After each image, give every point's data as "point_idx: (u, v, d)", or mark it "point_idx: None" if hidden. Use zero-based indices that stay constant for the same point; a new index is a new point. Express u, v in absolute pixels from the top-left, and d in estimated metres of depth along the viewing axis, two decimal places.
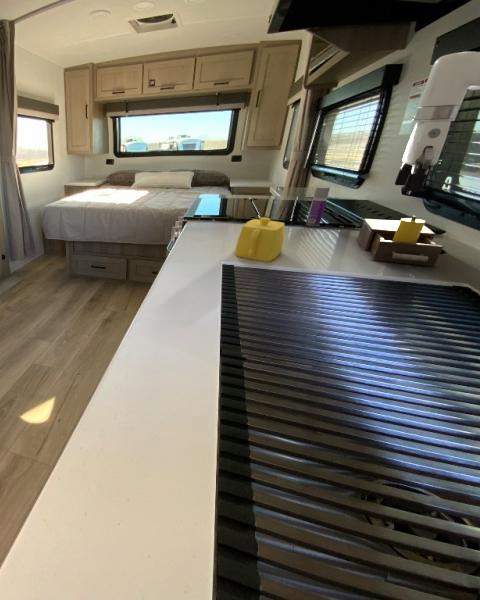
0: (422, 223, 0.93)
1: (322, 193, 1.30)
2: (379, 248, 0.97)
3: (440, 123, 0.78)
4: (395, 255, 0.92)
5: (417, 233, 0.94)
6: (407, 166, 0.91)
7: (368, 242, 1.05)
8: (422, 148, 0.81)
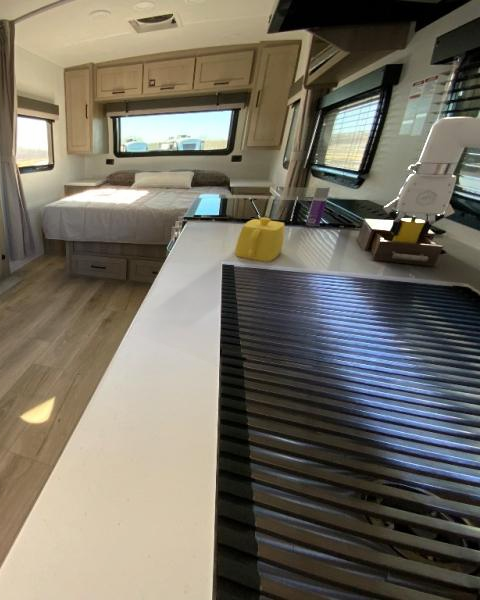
0: (422, 223, 0.93)
1: (322, 193, 1.30)
2: (379, 248, 0.97)
3: (409, 176, 0.91)
4: (395, 255, 0.92)
5: (417, 233, 0.94)
6: (428, 219, 0.93)
7: (368, 242, 1.05)
8: (398, 195, 0.95)
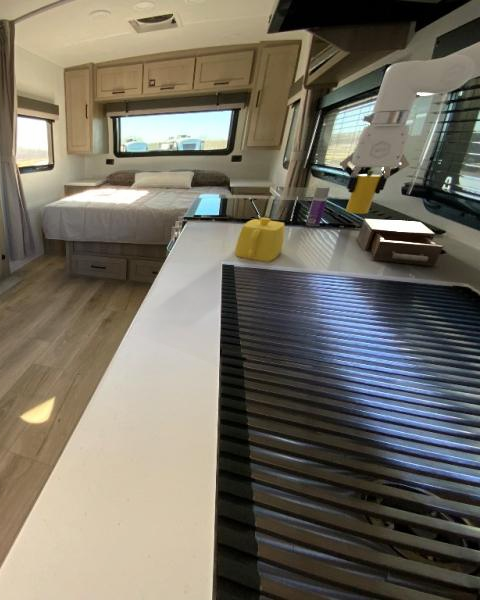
0: (377, 177, 0.90)
1: (323, 193, 1.30)
2: (379, 248, 0.97)
3: (364, 128, 0.88)
4: (395, 255, 0.92)
5: (373, 188, 0.91)
6: (383, 174, 0.90)
7: (368, 242, 1.05)
8: (354, 149, 0.92)
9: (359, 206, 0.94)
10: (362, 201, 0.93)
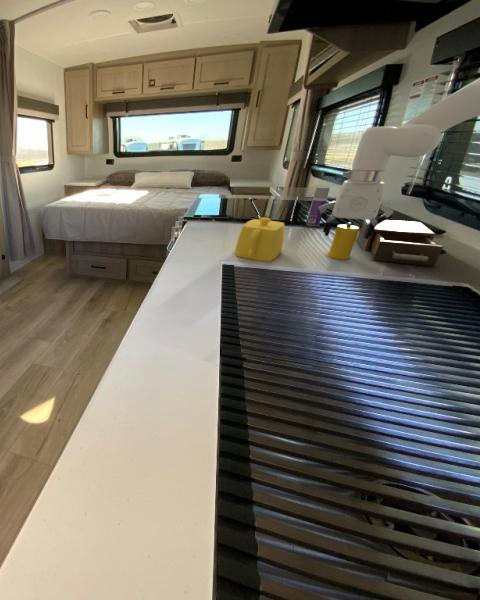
0: (356, 229, 0.96)
1: (323, 193, 1.30)
2: (379, 248, 0.97)
3: (343, 183, 0.95)
4: (395, 255, 0.92)
5: (352, 239, 0.98)
6: None
7: (368, 242, 1.05)
8: (335, 201, 0.98)
9: (340, 255, 1.00)
10: (342, 250, 0.99)
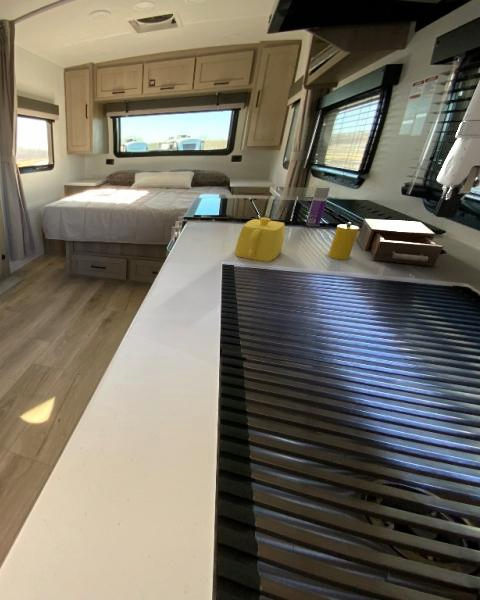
0: (356, 229, 0.96)
1: (323, 193, 1.30)
2: (379, 248, 0.97)
3: None
4: (395, 255, 0.92)
5: (352, 239, 0.98)
6: None
7: (368, 242, 1.05)
8: None
9: (340, 255, 1.00)
10: (342, 250, 0.99)
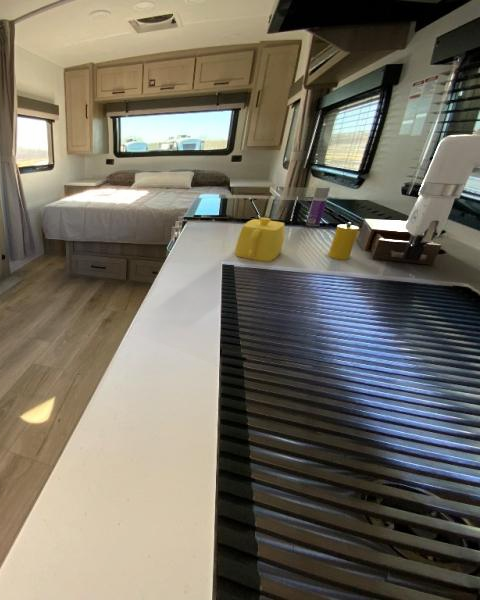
0: (356, 229, 0.96)
1: (323, 193, 1.30)
2: (378, 247, 0.98)
3: None
4: (394, 254, 0.93)
5: (352, 239, 0.98)
6: None
7: (368, 242, 1.05)
8: None
9: (340, 255, 1.00)
10: (342, 250, 0.99)
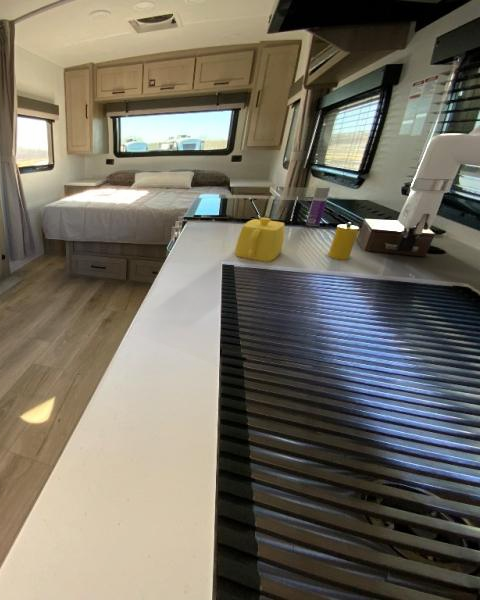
0: (356, 229, 0.96)
1: (323, 193, 1.30)
2: (373, 240, 1.03)
3: None
4: (388, 246, 0.99)
5: (352, 239, 0.98)
6: None
7: (368, 242, 1.05)
8: None
9: (340, 255, 1.00)
10: (342, 250, 0.99)
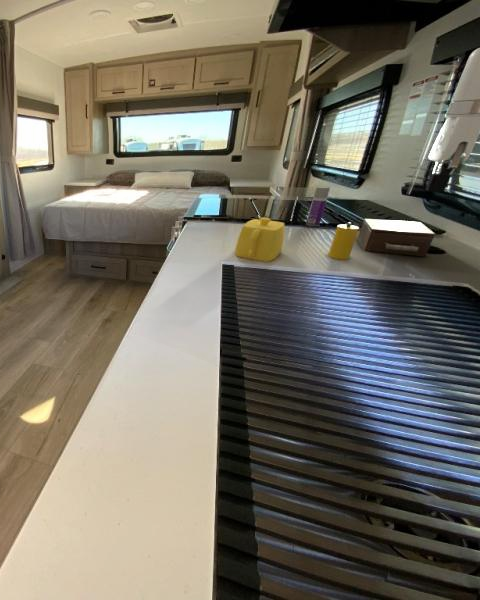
0: (356, 229, 0.96)
1: (323, 193, 1.30)
2: (373, 240, 1.03)
3: None
4: (388, 246, 0.99)
5: (352, 239, 0.98)
6: None
7: (368, 242, 1.05)
8: None
9: (340, 255, 1.00)
10: (342, 250, 0.99)
